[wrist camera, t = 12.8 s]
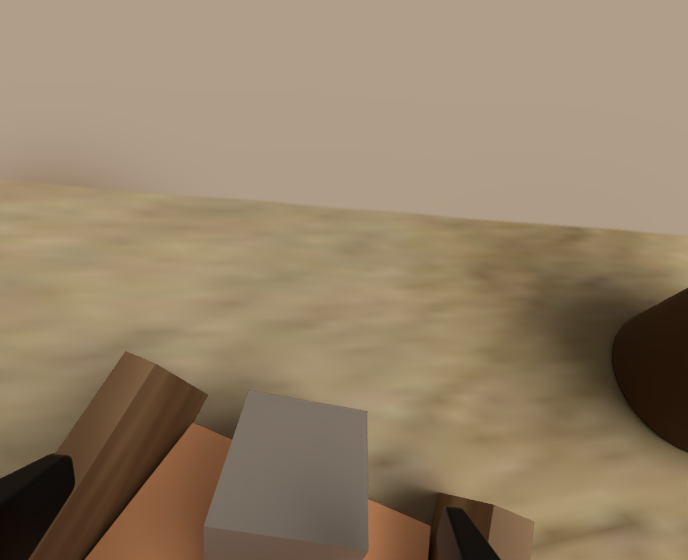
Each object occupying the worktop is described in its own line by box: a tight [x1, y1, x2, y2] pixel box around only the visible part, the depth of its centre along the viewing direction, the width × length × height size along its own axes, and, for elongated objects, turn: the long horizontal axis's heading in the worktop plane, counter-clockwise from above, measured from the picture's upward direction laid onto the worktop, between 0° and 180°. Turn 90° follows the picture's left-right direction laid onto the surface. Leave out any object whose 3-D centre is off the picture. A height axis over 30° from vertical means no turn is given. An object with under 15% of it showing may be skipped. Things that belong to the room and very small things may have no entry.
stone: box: [204, 390, 369, 560], centre depth 15 cm, size 5×5×7 cm
